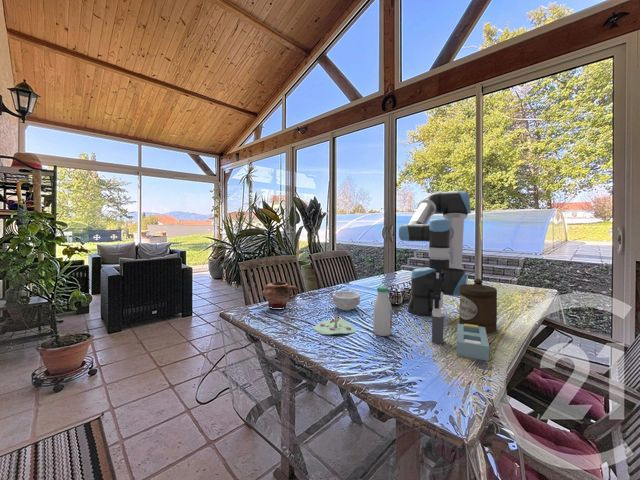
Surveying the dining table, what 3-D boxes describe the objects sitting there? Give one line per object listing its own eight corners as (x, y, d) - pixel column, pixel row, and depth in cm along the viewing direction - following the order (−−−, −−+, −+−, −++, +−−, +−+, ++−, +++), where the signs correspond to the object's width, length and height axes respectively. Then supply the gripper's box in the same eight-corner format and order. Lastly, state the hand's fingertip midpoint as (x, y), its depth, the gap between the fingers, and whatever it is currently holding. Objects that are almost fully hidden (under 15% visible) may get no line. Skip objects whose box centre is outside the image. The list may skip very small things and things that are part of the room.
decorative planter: (296, 303, 170) (295, 280, 169) (300, 309, 158) (299, 284, 157) (261, 306, 165) (261, 282, 164) (263, 312, 153) (262, 286, 152)
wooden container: (453, 321, 137) (454, 275, 136) (485, 321, 137) (486, 275, 135) (468, 333, 122) (469, 282, 121) (503, 333, 122) (505, 282, 120)
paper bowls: (361, 312, 152) (361, 297, 151) (333, 312, 152) (332, 297, 152) (358, 304, 167) (358, 290, 166) (332, 304, 167) (332, 290, 167)
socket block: (456, 355, 103) (456, 340, 102) (457, 335, 120) (457, 322, 120) (488, 361, 98) (489, 345, 98) (484, 339, 116) (485, 326, 116)
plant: (314, 317, 146) (314, 300, 145) (355, 317, 145) (355, 300, 145) (311, 337, 121) (311, 316, 120) (360, 337, 120) (360, 316, 120)
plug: (431, 342, 114) (432, 312, 113) (432, 338, 117) (432, 309, 117) (442, 344, 112) (443, 313, 111) (443, 340, 116) (444, 310, 115)
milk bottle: (388, 338, 118) (388, 290, 117) (370, 334, 122) (370, 288, 121) (394, 331, 125) (394, 286, 123) (377, 328, 129) (377, 284, 127)
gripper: (448, 262, 100) (446, 322, 101) (450, 255, 122) (449, 304, 123) (425, 261, 103) (424, 319, 104) (431, 254, 125) (430, 302, 126)
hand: (437, 311), depth 113 cm, fingers open, 13 cm apart
